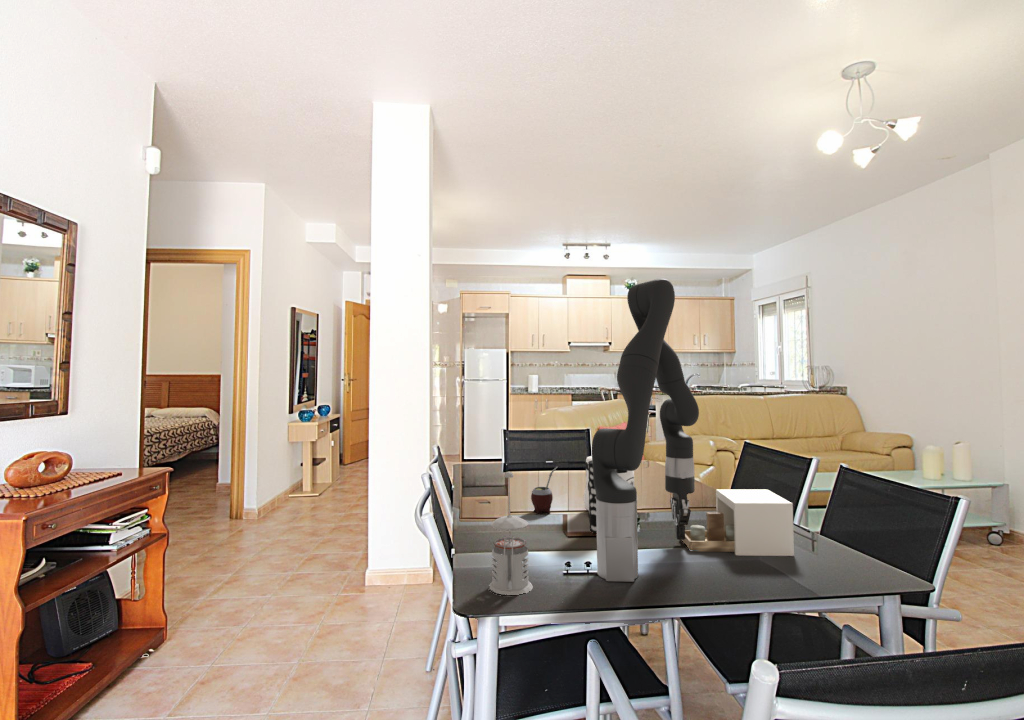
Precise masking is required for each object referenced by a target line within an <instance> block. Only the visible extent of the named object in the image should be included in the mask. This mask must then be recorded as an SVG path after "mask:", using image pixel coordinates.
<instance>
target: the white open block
mask: <svg viewBox="0 0 1024 720" xmlns="http://www.w3.org/2000/svg"><path fill="white" fill-rule="evenodd" d="M715 498H716V499H715V501H716V502H715V504H716V508H715V510H716V511H715V512H722V513H723V514H724V530H726V526H728V525H734V539H735V552H734V555H735V556H752V557H753V556H755V557H757V556H758V557H759V556H763V557H764V556H765V557H767V556H770V557H771V556H772V557H776V556H777V557H789V556H790V557H794V556H795V550H794V549H795V547H794V546H795V545H794V543H795V541H794V539H795V538H794V507H793V505H794V504H793V502H792V501H791V502H790V501H789V500H787V499H786V498H784V497H782V496H780V495H778V494H776V493H775V492H773V491H771V490H769V489H768V488H767V489H764V488H763V489H761V488H760V489H758V488H757V489H755V488H754V489H752V488H751V489H750V488H749V489H745V488H743V489H742V488H741V489H731V488H729V489H728V488H727V489H726V488H725V489H724V488H723V489H718V488H717V489H715Z"/></svg>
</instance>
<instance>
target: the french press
mask: <svg viewBox="0 0 1024 720" xmlns="http://www.w3.org/2000/svg"><path fill="white" fill-rule="evenodd" d="M513 477H514V474H513V472H512V471H506V472H505V473H504V478H505V479H508V515H504V516H500V517H498V518H496V519H495V520H493V521H492V522H491V523H490V525H491V527H492V528H493V529H495V530H498V531H501V532H502V531H503V532H504V531H505V532H509V535H508V536H506V535H504V537H500V538H497V539H495V540H494V541H493V544H494V546H493V547H492V549H491V556H492V557H491V561H492V564H491V567H492V570H491V572H492V575H491V576H492V577H491V580H492V581H491V582H490V584H489V585H488V586H490V589H491V590H493V591H494V592H496V593H499V594H505V595H506V594H507V595H519V594H523V593H526V594H528V593H529V591H530V592H531V591H533V588H534V586H533V584H532V583H531V582H530V581H529V575H528V574H529V569H528V568H529V563H528V562H529V557H527V556H529V548H528V547H527V546H526V544H527V541H526V540H525V539H524V538H520V537H516V536H514V535H511V532H512V531H514V532H515V531H519V530H522V529H524V528H526V527H527V526H528V525H529V522H528V521H527V520H525V519H523V518H521V517H519V516H516V515H511V494H510V493H511V491H510V490H511V486H510V485H511V484H510V483H511V482H510V481H511V480H510V479H512V478H513ZM511 536H512V537H511ZM523 595H524V594H523ZM519 596H520V595H519Z"/></svg>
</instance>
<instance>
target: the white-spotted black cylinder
mask: <svg viewBox="0 0 1024 720" xmlns="http://www.w3.org/2000/svg"><path fill="white" fill-rule="evenodd" d="M616 472H617V470H616ZM588 474H589V511H588V520H589V521H588V524H589V527H588V528H589V530H590V531H591V532H593V533H597V523H596V491H595V487H594V480H593V464H592V461H589V462H588ZM590 531H589V532H590ZM591 532H590V533H591ZM593 533H592V534H593Z"/></svg>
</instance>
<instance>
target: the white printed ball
mask: <svg viewBox="0 0 1024 720" xmlns="http://www.w3.org/2000/svg"><path fill="white" fill-rule="evenodd" d="M589 461H592V455H590V456H586V459H585V481H586V482H585V488H584V492H583V504H584V507H585V509H586V511H587V512H589V474H588V462H589ZM617 474H618V475H619V476H620V477H621V478H622V479H623V480H625V481H626V482H628V483H630V484H632V485H633V486H634V487H635V488H636V486H635V470H634V471H626V470H617Z"/></svg>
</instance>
